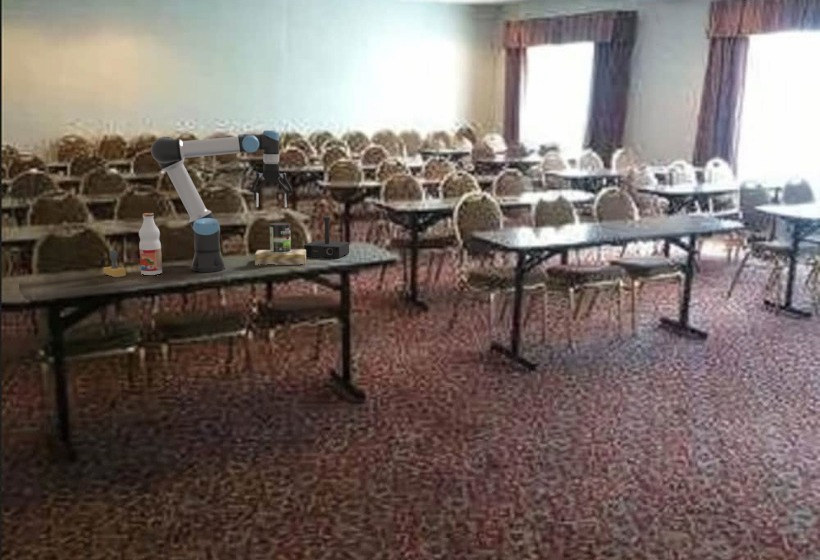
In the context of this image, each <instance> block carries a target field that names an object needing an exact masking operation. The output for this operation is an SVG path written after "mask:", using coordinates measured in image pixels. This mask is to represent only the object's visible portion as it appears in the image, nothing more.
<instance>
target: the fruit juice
mask: <svg viewBox="0 0 820 560" xmlns="http://www.w3.org/2000/svg"><path fill="white" fill-rule="evenodd" d="M154 217H155V214H154V212H145V213H142V218H143V221H142V225H141V227H140V229H139V231H138V237H139V239H140V241H139V244H138V245H139V246H138V247H139V261H140V264H139V265H140V273H141V275H142V274H144V275H155V274H160V273H162V274H163V261H162V257H163V256H162V244H161V241H160V236H161V232H160V229H159V228H158V226H157V225H156V223H155V221H154V219H155V218H154Z"/></svg>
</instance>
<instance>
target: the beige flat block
mask: <svg viewBox="0 0 820 560" xmlns="http://www.w3.org/2000/svg"><path fill="white" fill-rule="evenodd" d="M306 262H307V256H306V249H302V248H301V249H291V252H290V253H286V254H274V253H270V249H257V250H256V252H255V253H254V266H261V265H260V264H265V265H264V266H268V265H267V264H275V265H274V266H280V265H281V266H286V265H287V266H288V265H289V266H292V265H293V266H294V265H296V266H297V265H300V264H303V266H304V265H306ZM258 264H259V265H258Z"/></svg>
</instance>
